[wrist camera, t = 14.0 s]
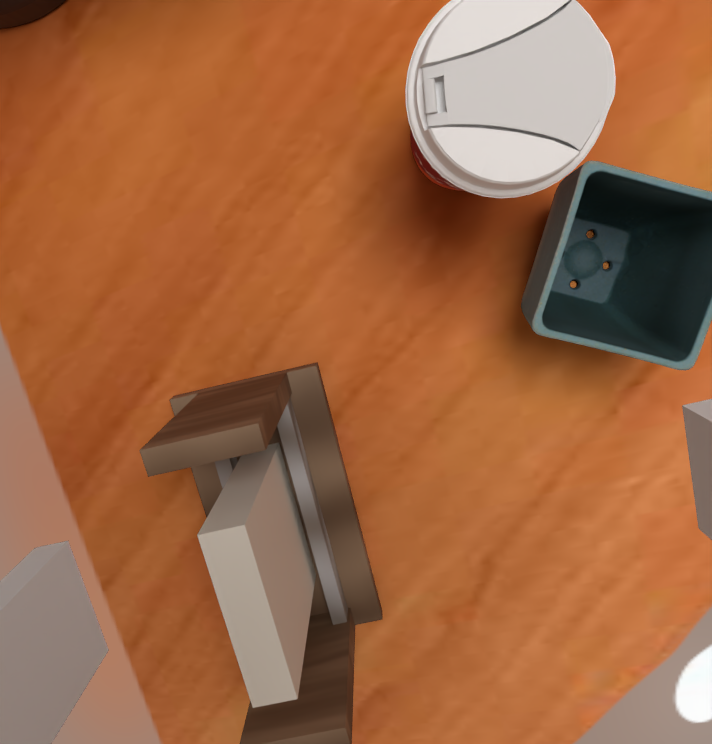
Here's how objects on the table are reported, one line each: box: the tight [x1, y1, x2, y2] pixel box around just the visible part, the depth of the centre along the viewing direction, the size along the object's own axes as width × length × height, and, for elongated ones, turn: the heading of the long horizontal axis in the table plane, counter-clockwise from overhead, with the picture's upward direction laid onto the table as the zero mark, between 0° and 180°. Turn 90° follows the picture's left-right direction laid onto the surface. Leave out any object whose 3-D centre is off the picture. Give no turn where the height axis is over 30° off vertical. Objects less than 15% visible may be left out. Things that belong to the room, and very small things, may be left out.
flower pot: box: [521, 161, 712, 370], centre depth 36 cm, size 9×9×9 cm
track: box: [140, 362, 382, 744], centre depth 38 cm, size 19×10×12 cm, turn 14°
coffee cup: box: [406, 0, 616, 198], centre depth 31 cm, size 8×8×15 cm
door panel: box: [197, 443, 316, 708], centre depth 37 cm, size 10×2×12 cm, turn 14°
